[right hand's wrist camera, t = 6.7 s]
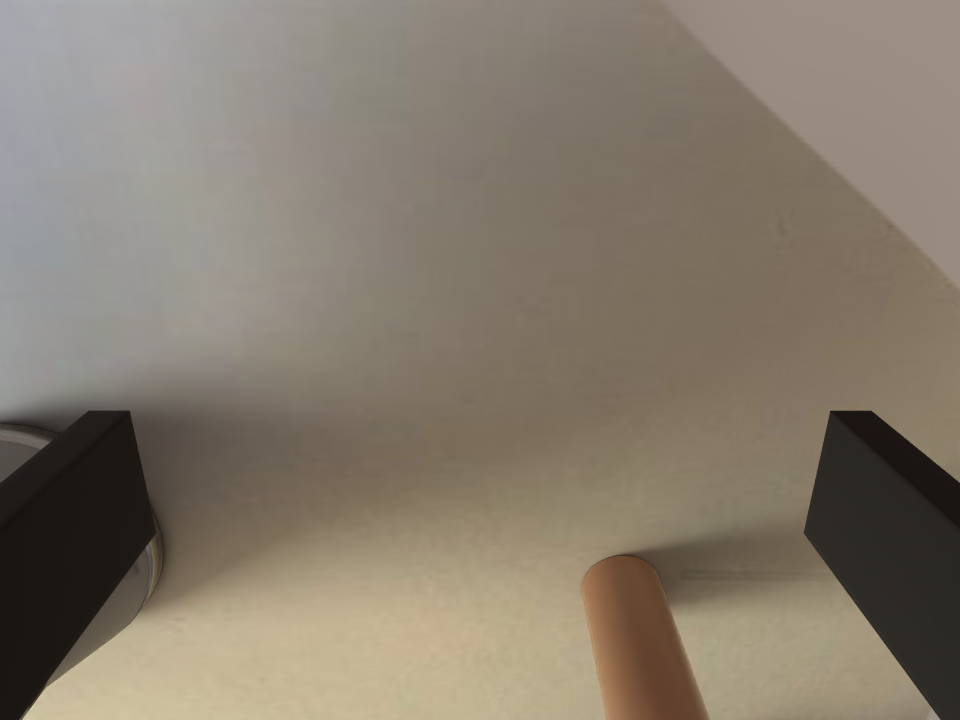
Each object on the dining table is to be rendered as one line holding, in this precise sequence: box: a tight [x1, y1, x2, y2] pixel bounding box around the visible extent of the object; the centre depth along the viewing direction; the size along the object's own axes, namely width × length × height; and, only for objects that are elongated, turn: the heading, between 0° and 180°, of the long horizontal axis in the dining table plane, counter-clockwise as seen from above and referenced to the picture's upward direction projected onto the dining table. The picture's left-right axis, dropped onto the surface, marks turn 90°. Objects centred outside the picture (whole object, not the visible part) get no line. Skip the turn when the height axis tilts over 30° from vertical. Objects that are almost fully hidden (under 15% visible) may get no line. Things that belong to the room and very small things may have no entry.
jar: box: [581, 556, 710, 720], centre depth 35 cm, size 5×5×15 cm
